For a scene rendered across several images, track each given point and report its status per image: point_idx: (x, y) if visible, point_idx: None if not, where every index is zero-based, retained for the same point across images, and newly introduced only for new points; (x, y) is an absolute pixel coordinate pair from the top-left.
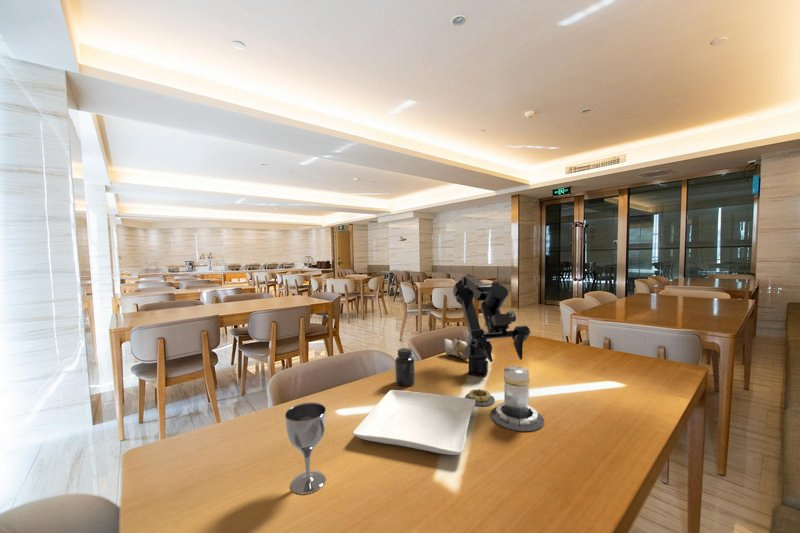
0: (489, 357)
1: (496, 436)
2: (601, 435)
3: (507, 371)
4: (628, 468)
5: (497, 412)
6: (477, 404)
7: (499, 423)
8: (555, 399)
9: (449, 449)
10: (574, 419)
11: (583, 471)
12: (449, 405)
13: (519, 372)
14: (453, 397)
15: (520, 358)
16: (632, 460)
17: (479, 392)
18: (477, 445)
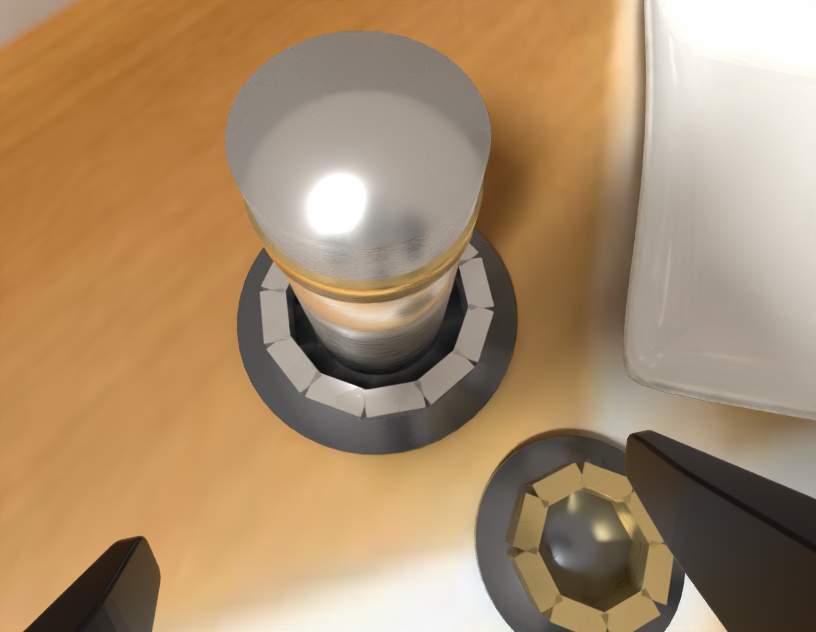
0: (704, 456)
1: (502, 157)
2: (37, 192)
3: (465, 94)
4: (93, 24)
5: (487, 286)
6: (592, 439)
7: (480, 233)
8: (24, 600)
9: (683, 47)
10: (70, 322)
11: (250, 6)
12: (767, 370)
13: (343, 76)
14: (778, 398)
15: (148, 561)
16: (45, 58)
17: (590, 604)
18: (580, 100)
